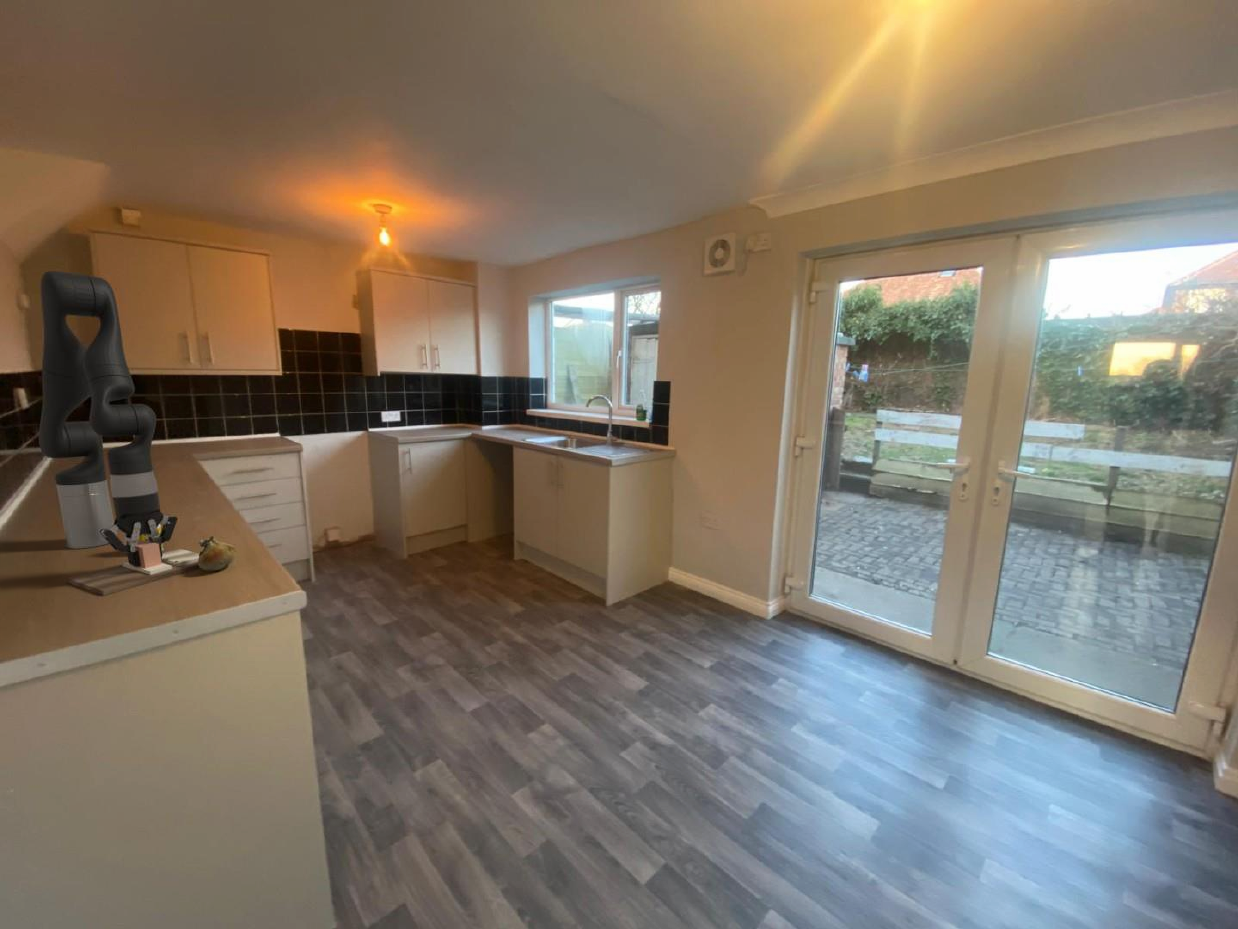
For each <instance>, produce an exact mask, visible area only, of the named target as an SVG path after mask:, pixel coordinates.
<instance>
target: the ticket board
mask: <svg viewBox="0 0 1238 929" xmlns="http://www.w3.org/2000/svg"><path fill="white" fill-rule="evenodd" d="M199 554H200V553H198V552H194V551H190V550H186V549H181V548H178V549H174V550H170V551H166V552H162V555H163V556H162V558H161V562H162V563H164V564H168V565H171V566H172V569H169V570H166V571H162V572H159V573H155V574H151V575H150V574H146V573H143V572H140V571H137V570H133V569H130V568H127V567H123V564H118V565H114V566H110V567H107V568H101V569H99V570H98V569H97V570H94V571H90V572H85V573H82V574H79V575H73V576H70V577H67V578H66V580H67V583H68V584H70V585H74V586H76V587H78V588H79V587H80V588H82V589H84V590H87V589H88V591H89V592H93V593H95V594H99V595H101V596H108V595H111V594H115V593H117V592H122V591H125V590H128V589H132V588H135V587H139V586H142V585H146V584H149V583H153V582H156V581H159V580H163V579H166V578H170V577H173V576H177V575H180V574H184V573H187V572H190V571H193V570H197V569H201V568H200V567H199V565H198V559H199Z"/></svg>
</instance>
